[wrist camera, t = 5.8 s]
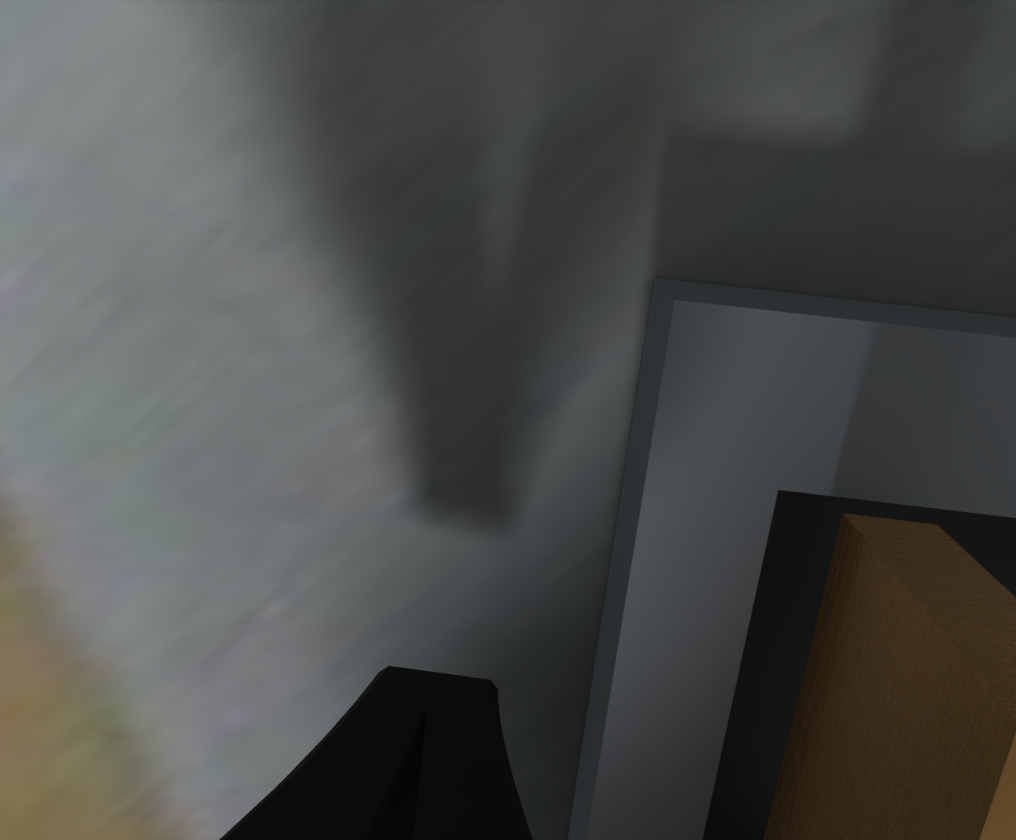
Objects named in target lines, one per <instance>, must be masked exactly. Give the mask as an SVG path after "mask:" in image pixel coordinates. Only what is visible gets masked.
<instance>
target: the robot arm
mask: <svg viewBox="0 0 1016 840" xmlns="http://www.w3.org/2000/svg"><path fill="white" fill-rule="evenodd" d="M219 840H533V838H532V836H531V833H530V830H529V827H528V824H527V821H526V818H525V815H524V811H523V808H522V805H521V802H520V799H519V795H518V792H517V789H516V786H515V783H514V779H513V776H512V772H511V768H510V764H509V760H508V756H507V752H506V747H505V743H504V738H503V733H502V728H501V722H500V715H499V704H498V689H497V687H496V686H495V685H494V684H493V682H492V681H491V680H488V679H481V678H473V677H466V676H459V675H452V674H444V673H437V672H430V671H422V670H415V669H408V668H400V667H393V666H388V667H386V668H385V669H383V670H382V671H380V672H379V673H378V674H377V675H376V677H375V678H374V679H373V681H372V682H371V683H370V684H369V686H368V687H367V688H366V690H365V691H364V692H363V693H362V694H361V696H360V697H359V698H358V699H357V701H356V702H355V703H354V704H353V705H352V707H351V708H350V709H349V710H348V711H347V712H346V714H345V715H344V716H343V717H342V718H341V719H340V720H339V721H338V723H337V724H336V725H335V726H334V727H333V728H332V729H331V730H330V732H329V733H328V734H327V735H326V736H325V737H324V738H323V739H322V740H321V741H320V742H319V743H318V744H317V745H316V746H315V748H314V749H313V750H312V751H311V752H310V753H309V754H308V755H307V756H306V757H305V758H304V759H303V760H302V761H301V762H300V763H299V764H298V765H297V766H296V767H295V768H294V769H293V771H292V772H291V773H290V774H289V775H288V776H287V777H286V778H285V779H284V780H283V781H282V782H281V783H280V784H279V785H278V786H277V787H276V788H275V789H273V790H272V791H271V792H270V793H269V794H268V795H267V796H266V797H265V798H264V799H263V800H262V801H261V802H259V803H258V804H257V805H256V806H255V807H254V808H253V809H252V810H251V811H250V812H249V813H248V814H247V815H245V816H244V817H243V818H242V819H241V820H240V821H239V822H238V823H237V824H236V825H235V826H234V827H233V828H231V829H230V830H229V831H228V832H227V833H226V834H225V835H224V836H223V837H222V838H220V839H219Z"/></svg>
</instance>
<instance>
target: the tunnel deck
mask: <svg viewBox="0 0 1016 840" xmlns="http://www.w3.org/2000/svg"><path fill="white" fill-rule="evenodd" d="M843 513H845V514H853V515H862V516H870V517H879V518H887V519H895V520H904V521H912V522H921V523H929V524H937V525H938V526H939V527H940V528H941V529H942V530H944V531H945V532H946V533H947V534H948V535H949V536H950V537H951V538H952V539H953V540H954V541H955V542H956V543H958V544H959V545H960V546H961V547H962V548H963V549H964V550H965V551H966V552H967V553H968V554H969V555H970V556H972V557H973V558H974V559H975V560H976V561H977V562H978V563H979V564H980V565H981V566H982V567H983V568H984V569H986V570H987V571H988V572H989V573H990V574H991V575H992V576H993V577H994V578H995V579H996V580H997V581H999V582H1000V583H1001V584H1002V585H1003V586H1004V587H1005V588H1006V589H1007V590H1008V591H1009V592H1010V593H1011V594H1013V595H1014V596H1015V597H1016V318H1015V317H1006V316H997V315H988V314H979V313H970V312H961V311H952V310H943V309H934V308H925V307H916V306H907V305H898V304H889V303H880V302H871V301H862V300H853V299H844V298H835V297H826V296H817V295H808V294H799V293H790V292H781V291H772V290H763V289H754V288H745V287H736V286H726V285H717V284H708V283H699V282H690V281H681V280H672V279H663V278H654V283H653V289H652V296H651V302H650V308H649V315H648V321H647V328H646V334H645V341H644V347H643V354H642V360H641V367H640V373H639V380H638V386H637V392H636V399H635V405H634V412H633V418H632V425H631V431H630V438H629V444H628V451H627V457H626V464H625V470H624V476H623V483H622V489H621V496H620V502H619V509H618V515H617V522H616V528H615V535H614V541H613V548H612V554H611V560H610V567H609V573H608V580H607V586H606V593H605V599H604V606H603V612H602V619H601V625H600V632H599V638H598V644H597V651H596V657H595V664H594V670H593V677H592V683H591V690H590V696H589V703H588V709H587V716H586V722H585V728H584V735H583V741H582V748H581V754H580V761H579V767H578V774H577V780H576V787H575V793H574V800H573V806H572V812H571V819H570V825H569V832H568V838H567V840H764V836H765V832H766V828H767V823H768V819H769V815H770V811H771V807H772V803H773V799H774V795H775V791H776V786H777V782H778V778H779V774H780V770H781V766H782V762H783V758H784V754H785V750H786V745H787V741H788V737H789V733H790V729H791V725H792V721H793V717H794V713H795V709H796V704H797V700H798V696H799V692H800V688H801V684H802V680H803V676H804V672H805V667H806V663H807V659H808V655H809V651H810V647H811V643H812V639H813V635H814V631H815V626H816V622H817V618H818V614H819V610H820V606H821V602H822V598H823V594H824V590H825V585H826V581H827V577H828V573H829V569H830V565H831V561H832V557H833V553H834V548H835V544H836V540H837V536H838V532H839V528H840V524H841V520H842V516H843Z"/></svg>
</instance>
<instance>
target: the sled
mask: <svg viewBox="0 0 1016 840" xmlns="http://www.w3.org/2000/svg"><path fill="white" fill-rule="evenodd" d="M764 840H1016V597H1015V596H1014V595H1013V594H1011V593H1010V592H1009V591H1008V590H1007V589H1006V588H1005V587H1004V586H1003V585H1002V584H1001V583H1000V582H999V581H997V580H996V579H995V578H994V577H993V576H992V575H991V574H990V573H989V572H988V571H987V570H986V569H984V568H983V567H982V566H981V565H980V564H979V563H978V562H977V561H976V560H975V559H974V558H973V557H972V556H970V555H969V554H968V553H967V552H966V551H965V550H964V549H963V548H962V547H961V546H960V545H959V544H958V543H956V542H955V541H954V540H953V539H952V538H951V537H950V536H949V535H948V534H947V533H946V532H945V531H944V530H942V529H941V528H940V527H939V526H938V525H937V524H929V523H921V522H912V521H904V520H895V519H887V518H879V517H870V516H862V515H853V514H845V513H843V516H842V520H841V524H840V528H839V532H838V536H837V540H836V544H835V548H834V553H833V557H832V561H831V565H830V569H829V573H828V577H827V581H826V585H825V590H824V594H823V598H822V602H821V606H820V610H819V614H818V618H817V622H816V626H815V631H814V635H813V639H812V643H811V647H810V651H809V655H808V659H807V663H806V667H805V672H804V676H803V680H802V684H801V688H800V692H799V696H798V700H797V704H796V709H795V713H794V717H793V721H792V725H791V729H790V733H789V737H788V741H787V745H786V750H785V754H784V758H783V762H782V766H781V770H780V774H779V778H778V782H777V786H776V791H775V795H774V799H773V803H772V807H771V811H770V815H769V819H768V823H767V828H766V832H765V836H764Z"/></svg>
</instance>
